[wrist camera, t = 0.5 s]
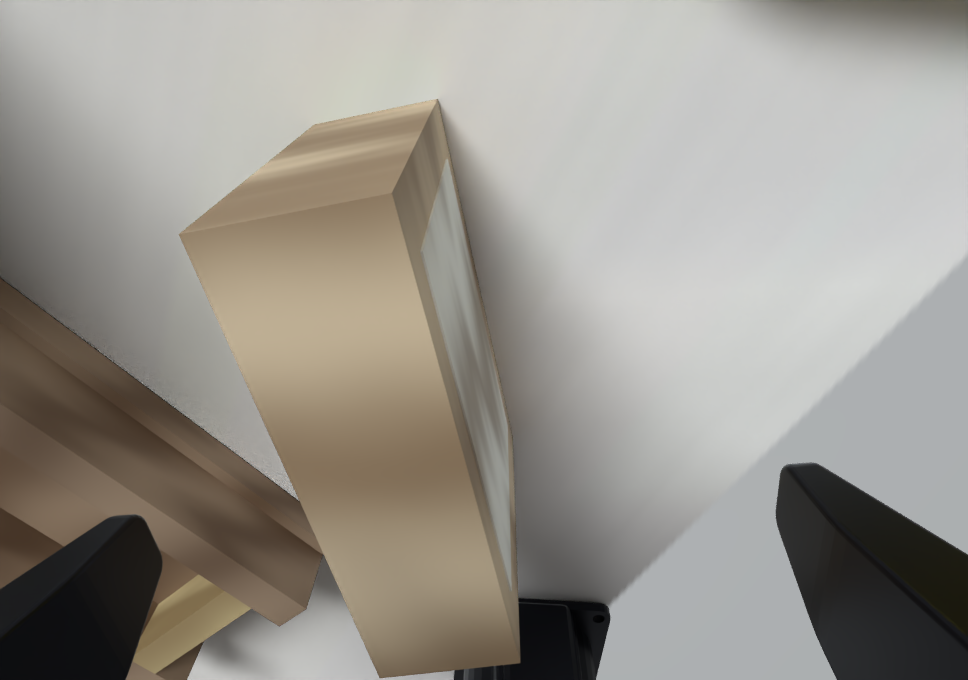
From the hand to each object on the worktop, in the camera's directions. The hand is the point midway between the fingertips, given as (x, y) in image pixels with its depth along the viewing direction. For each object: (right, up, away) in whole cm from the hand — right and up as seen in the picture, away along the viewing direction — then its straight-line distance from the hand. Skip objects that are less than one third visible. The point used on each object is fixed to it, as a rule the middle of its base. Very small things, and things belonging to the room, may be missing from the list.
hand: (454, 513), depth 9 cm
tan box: (-1, +4, +12) cm, 13 cm away
